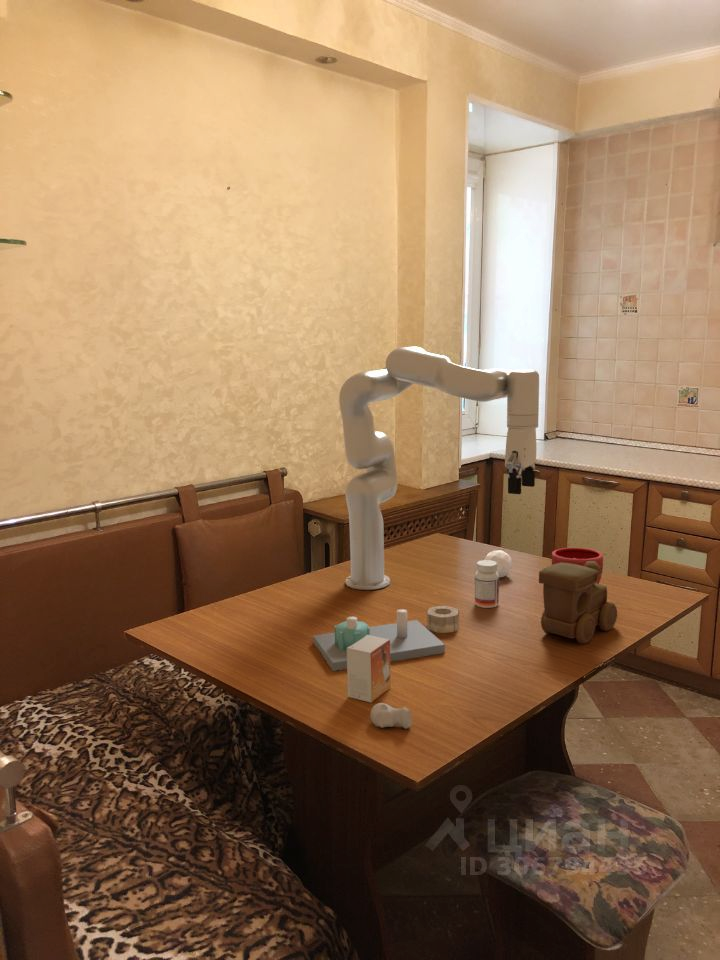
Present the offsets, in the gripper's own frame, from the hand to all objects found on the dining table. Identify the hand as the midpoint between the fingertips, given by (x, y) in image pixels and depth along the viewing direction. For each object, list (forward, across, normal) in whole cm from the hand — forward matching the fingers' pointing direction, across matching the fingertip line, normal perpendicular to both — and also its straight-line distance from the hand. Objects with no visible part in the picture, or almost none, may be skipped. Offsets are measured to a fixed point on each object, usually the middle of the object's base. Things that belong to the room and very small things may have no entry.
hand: (521, 489), depth 196 cm
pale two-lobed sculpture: (+32, +68, 0) cm, 75 cm away
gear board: (+31, +38, -20) cm, 53 cm away
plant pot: (+32, -17, +10) cm, 37 cm away
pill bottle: (+31, 0, -9) cm, 33 cm away
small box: (+32, +58, -10) cm, 67 cm away
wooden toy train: (+32, +8, +17) cm, 37 cm away
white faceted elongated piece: (+32, -24, -16) cm, 43 cm away
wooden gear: (+31, +20, -12) cm, 39 cm away
